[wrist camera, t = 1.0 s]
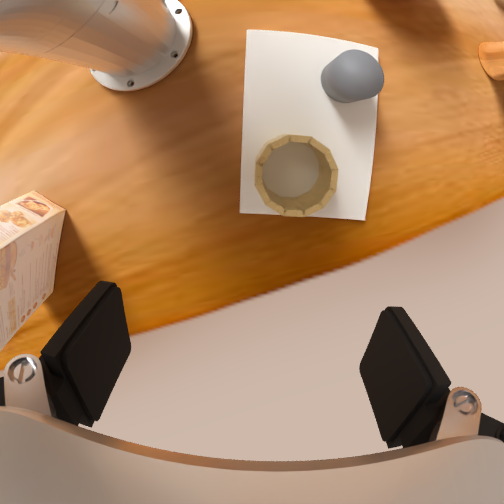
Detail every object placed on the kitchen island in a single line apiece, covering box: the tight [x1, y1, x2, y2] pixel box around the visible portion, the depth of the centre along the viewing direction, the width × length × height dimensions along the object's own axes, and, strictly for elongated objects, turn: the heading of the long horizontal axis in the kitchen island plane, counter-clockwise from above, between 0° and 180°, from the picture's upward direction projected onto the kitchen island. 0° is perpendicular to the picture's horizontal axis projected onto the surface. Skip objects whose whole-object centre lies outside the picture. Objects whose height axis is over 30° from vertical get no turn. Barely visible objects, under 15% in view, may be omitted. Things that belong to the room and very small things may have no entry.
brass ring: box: [255, 134, 338, 217], centre depth 26 cm, size 7×7×5 cm
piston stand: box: [240, 30, 384, 220], centre depth 24 cm, size 20×14×6 cm
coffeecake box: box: [0, 190, 66, 351], centre depth 24 cm, size 15×7×20 cm, turn 151°
